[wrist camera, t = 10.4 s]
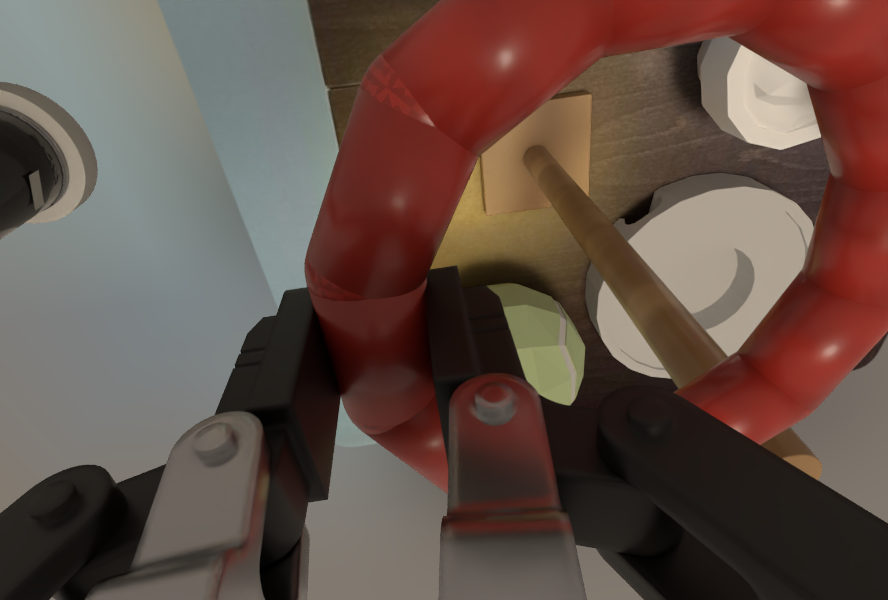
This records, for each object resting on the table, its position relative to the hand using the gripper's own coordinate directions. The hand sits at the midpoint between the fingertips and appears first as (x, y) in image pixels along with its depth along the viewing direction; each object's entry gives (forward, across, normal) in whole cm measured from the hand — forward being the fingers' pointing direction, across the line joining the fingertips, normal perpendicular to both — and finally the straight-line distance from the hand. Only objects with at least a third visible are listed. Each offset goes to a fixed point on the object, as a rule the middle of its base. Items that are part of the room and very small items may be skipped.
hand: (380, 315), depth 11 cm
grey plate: (+39, -29, +26) cm, 55 cm away
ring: (0, -6, 0) cm, 6 cm away
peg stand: (+39, -12, +10) cm, 42 cm away
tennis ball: (+39, -7, +28) cm, 48 cm away
